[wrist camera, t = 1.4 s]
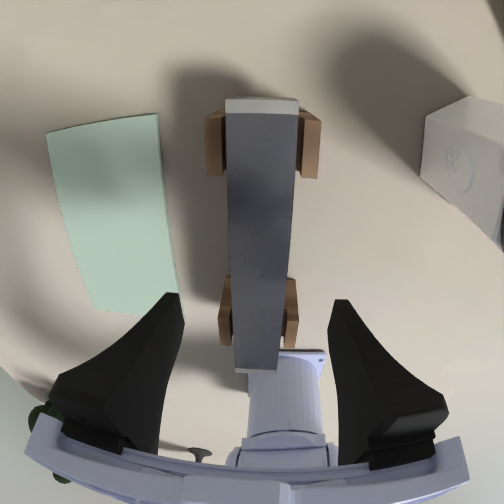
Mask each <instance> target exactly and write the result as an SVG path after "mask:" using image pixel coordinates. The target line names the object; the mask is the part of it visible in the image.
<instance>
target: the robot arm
mask: <svg viewBox="0 0 504 504" xmlns="http://www.w3.org/2000/svg"><path fill="white" fill-rule="evenodd" d="M184 325H185V322H184V317H183V313H182V308H181V302H180V297H179V293H173V292H166V293H165V294H164V295H163V296H162V297H161V298H160V299H159V300H158V301H157V303H156V304H155V305H154V306H153V307H152V308H151V309H150V310H149V311H148V312H147V313H146V314H145V315H144V316H143V318H142V319H141V320H140V321H139V322H138V323H137V324H136V325H135V326H133V327H132V328H131V329H130V330H129V331H128V332H127V333H126V334H125V335H124V336H123V337H121V338H120V339H119V340H118V341H117V342H115V343H114V344H113V345H111V346H110V347H109V348H107V349H106V350H104V351H103V352H101V353H100V354H98V355H97V356H95V357H94V358H92V359H90V360H88V361H87V362H85V363H83V364H81V365H79V366H77V367H75V368H73V369H70V370H68V371H66V372H64V373H61V374H59V376H58V378H57V379H56V381H55V383H54V385H53V387H52V390H51V392H50V394H49V400H50V402H51V403H52V404H53V406H54V407H55V408H56V409H57V410H58V411H59V412H60V413H61V414H62V415H63V416H64V417H65V420H64V423H63V422H61V421H60V420H58V419H56V418H53V417H51V416H48V415H46V414H44V413H40V415H39V417H38V419H37V421H36V424H35V426H34V428H33V431H32V433H31V436H30V438H29V440H28V443H27V446H26V449H25V451H24V453H25V454H26V455H27V456H28V457H30V458H31V459H33V460H34V461H36V462H38V463H39V464H41V465H42V466H44V467H45V468H47V469H48V470H50V471H52V472H54V473H56V474H58V475H60V476H62V477H64V478H66V479H68V480H70V481H73V482H75V483H77V484H79V485H82V486H84V487H87V488H89V489H91V490H94V491H96V492H99V493H101V494H104V495H107V496H110V497H112V498H115V499H117V500H121V501H124V502H127V503H129V504H417V503H421V502H424V501H427V500H430V499H432V498H436V497H438V496H441V495H443V494H445V493H447V492H450V491H452V490H454V489H456V488H458V487H460V486H461V485H464V484H465V483H467V482H469V481H470V477H469V472H468V468H467V464H466V459H465V455H464V451H463V447H462V444H461V440H460V437H459V436H457V437H454V438H451V439H448V440H445V441H441V442H438V443H436V444H435V445H434V443H433V439H434V438H435V432H434V430H435V429H436V428H437V427H438V426H439V425H440V424H442V423H443V422H444V421H445V419H446V418H447V417H448V414H449V411H448V408H447V405H446V401H445V399H444V396H443V394H441V393H439V392H437V391H436V390H434V389H432V388H431V387H429V386H427V385H426V384H425V383H423V382H422V381H420V380H419V379H418V378H416V377H415V376H414V375H412V374H411V373H410V372H409V371H407V370H406V369H405V368H404V367H403V366H402V365H400V364H399V363H398V362H397V361H396V360H395V359H394V358H393V357H392V356H391V355H390V354H389V353H388V352H387V351H386V350H385V349H384V347H383V346H382V345H381V344H380V343H379V342H378V340H377V339H376V338H375V337H374V335H373V334H372V333H371V331H370V330H369V329H368V328H367V326H366V325H365V323H364V322H363V321H362V319H361V318H360V316H359V315H358V314H357V312H356V311H355V309H354V308H353V306H352V305H351V303H350V302H349V301H348V300H343V299H335V302H334V306H333V310H332V314H331V318H330V322H329V326H328V329H327V332H328V345H329V353H330V358H331V363H332V368H333V373H334V379H335V384H336V390H337V399H338V421H339V447H337V446H336V445H334V443H333V442H330V443H326V441H325V434H323V430H322V417H321V405H320V393H319V383H318V382H319V379H320V376H321V373H322V370H323V366H324V363H325V360H326V353H325V352H284V351H279V356H278V364H277V375H271V374H248V396H249V397H250V405H249V418H248V430H247V438H242V446H241V447H235V448H234V449H233V451H231V452H230V453H229V455H228V457H227V460H226V463H225V466H223V465H214V464H206V463H198V462H191V461H185V460H179V459H174V458H168V457H163V456H158V443H159V433H160V424H161V417H162V411H163V404H164V399H165V394H166V389H167V385H168V381H169V378H170V374H171V371H172V368H173V365H174V362H175V359H176V356H177V353H178V350H179V347H180V344H181V340H182V335H183V330H184ZM176 476H178V477H176Z"/></svg>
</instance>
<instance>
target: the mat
mask: <svg viewBox="0 0 504 504" xmlns="http://www.w3.org/2000/svg"><path fill="white" fill-rule="evenodd" d="M46 140H47V146H48V152H49V158H50V164H51V169H52V174H53V179H54V184H55V188H56V193H57V197H58V201H59V205H60V209H61V213H62V217H63V220H64V224H65V227H66V231H67V234H68V238H69V241H70V244H71V247H72V250H73V254H74V257H75V260H76V263H77V265H78V268H79V271H80V274H81V277H82V279H83V282H84V285H85V287H86V290H87V293H88V295H89V298H90V300H91V303H92V305H93V308H94V309H96V310H103V311H110V312H117V313H125V314H133V315H141V316H144V315H145V314H146V313H147V312H148V311H149V310H150V309H151V308H152V307H153V306H154V305H155V304H156V303H157V301H158V300H159V299H160V298H161V297H162V296H163V295H164V294H165V293H166V292H173V293H179V297H180V302H181V308H182V313H183V317H185V316H184V311H183V306H182V301H181V295H180V290H179V284H178V279H177V273H176V267H175V261H174V255H173V248H172V241H171V235H170V228H169V220H168V213H167V205H166V197H165V188H164V179H163V169H162V158H161V147H160V134H159V120H158V114H152V115H143V116H135V117H128V118H121V119H114V120H108V121H102V122H96V123H91V124H86V125H81V126H76V127H71V128H66V129H62V130H58V131H54V132H50V133H47V134H46Z"/></svg>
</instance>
